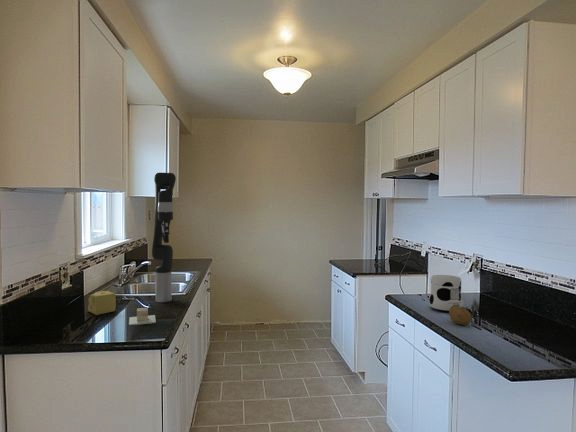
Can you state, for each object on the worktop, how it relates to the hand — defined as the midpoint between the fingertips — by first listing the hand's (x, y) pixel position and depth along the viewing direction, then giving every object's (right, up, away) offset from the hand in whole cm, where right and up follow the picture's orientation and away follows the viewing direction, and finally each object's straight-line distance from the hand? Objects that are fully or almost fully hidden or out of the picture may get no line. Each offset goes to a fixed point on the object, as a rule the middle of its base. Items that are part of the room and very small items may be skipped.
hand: (165, 241), depth 206 cm
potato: (+148, -39, -15) cm, 153 cm away
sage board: (-8, -38, -12) cm, 41 cm away
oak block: (-8, -37, -12) cm, 40 cm away
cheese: (-35, -38, +4) cm, 52 cm away
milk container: (+151, -38, +10) cm, 156 cm away
